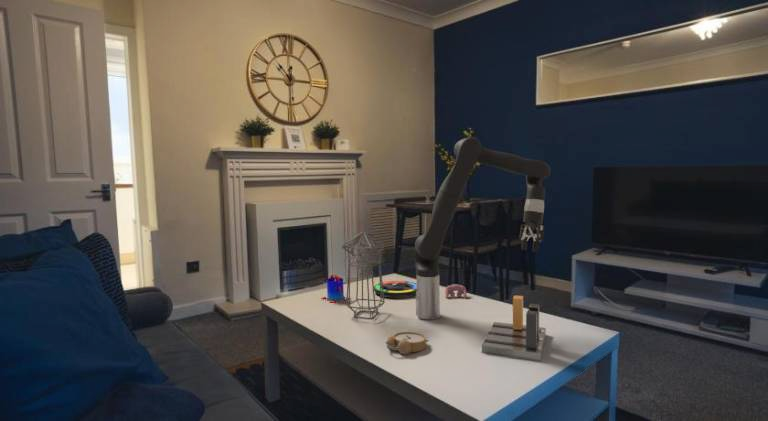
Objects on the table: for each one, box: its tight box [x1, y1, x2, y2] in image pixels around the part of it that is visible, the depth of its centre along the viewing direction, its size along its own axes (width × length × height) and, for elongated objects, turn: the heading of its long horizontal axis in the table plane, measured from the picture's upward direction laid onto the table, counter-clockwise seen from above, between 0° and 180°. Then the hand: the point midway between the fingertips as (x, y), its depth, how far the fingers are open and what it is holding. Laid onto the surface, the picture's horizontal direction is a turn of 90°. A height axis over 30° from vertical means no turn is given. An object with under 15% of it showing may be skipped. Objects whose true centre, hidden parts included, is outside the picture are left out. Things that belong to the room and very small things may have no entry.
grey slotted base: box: [481, 303, 547, 362], centre depth 146 cm, size 18×23×14 cm
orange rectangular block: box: [512, 295, 524, 330], centre depth 153 cm, size 3×4×11 cm
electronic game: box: [374, 280, 417, 299], centre depth 212 cm, size 23×23×5 cm
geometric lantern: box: [340, 231, 388, 320], centre depth 179 cm, size 16×16×35 cm
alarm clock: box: [385, 331, 429, 355], centre depth 145 cm, size 11×5×15 cm
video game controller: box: [444, 283, 468, 299], centre depth 202 cm, size 10×5×7 cm, turn 84°
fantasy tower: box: [320, 274, 352, 304], centre depth 203 cm, size 12×12×12 cm
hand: (529, 250), depth 175 cm, fingers open, 8 cm apart
